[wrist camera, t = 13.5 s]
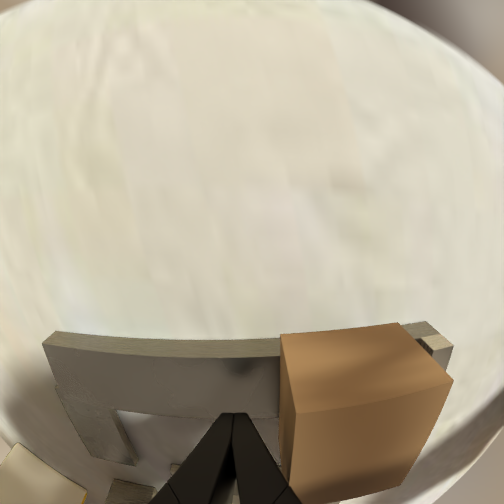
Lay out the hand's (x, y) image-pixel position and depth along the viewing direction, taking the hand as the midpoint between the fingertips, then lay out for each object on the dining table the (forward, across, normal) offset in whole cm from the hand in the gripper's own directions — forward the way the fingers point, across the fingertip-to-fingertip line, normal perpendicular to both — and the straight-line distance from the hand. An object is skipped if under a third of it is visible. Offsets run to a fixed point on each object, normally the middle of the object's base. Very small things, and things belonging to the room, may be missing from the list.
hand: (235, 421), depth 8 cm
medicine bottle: (+3, +18, +15) cm, 24 cm away
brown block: (+1, -4, 0) cm, 4 cm away
